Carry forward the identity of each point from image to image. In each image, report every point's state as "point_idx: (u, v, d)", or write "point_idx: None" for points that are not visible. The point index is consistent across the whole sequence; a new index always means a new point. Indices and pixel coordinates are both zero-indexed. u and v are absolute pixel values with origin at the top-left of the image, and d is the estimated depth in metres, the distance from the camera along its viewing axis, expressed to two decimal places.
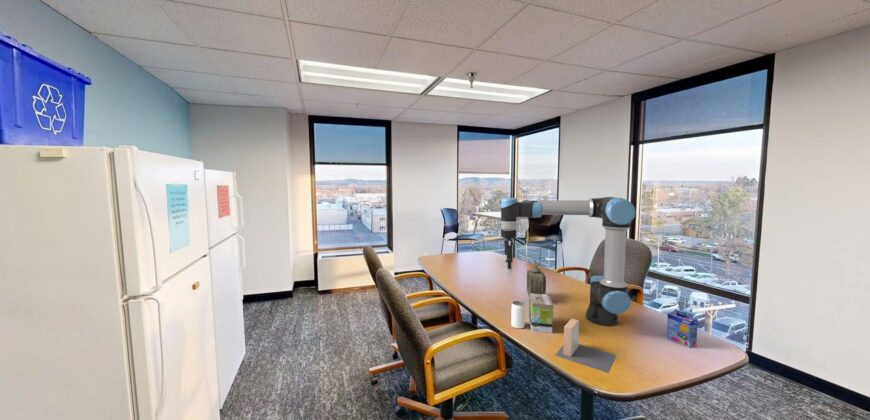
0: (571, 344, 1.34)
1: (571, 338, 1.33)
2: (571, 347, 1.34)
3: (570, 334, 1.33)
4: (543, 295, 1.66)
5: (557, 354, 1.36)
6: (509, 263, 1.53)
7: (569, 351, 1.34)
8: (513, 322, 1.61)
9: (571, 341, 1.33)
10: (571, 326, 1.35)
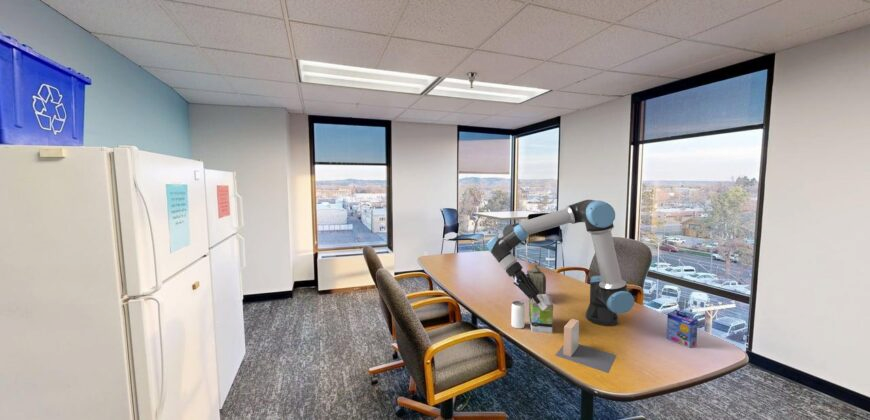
0: (571, 344, 1.34)
1: (571, 338, 1.33)
2: (571, 347, 1.34)
3: (570, 334, 1.33)
4: (543, 295, 1.66)
5: (557, 354, 1.36)
6: (534, 298, 1.45)
7: (569, 351, 1.34)
8: (513, 322, 1.61)
9: (571, 341, 1.33)
10: (571, 326, 1.35)
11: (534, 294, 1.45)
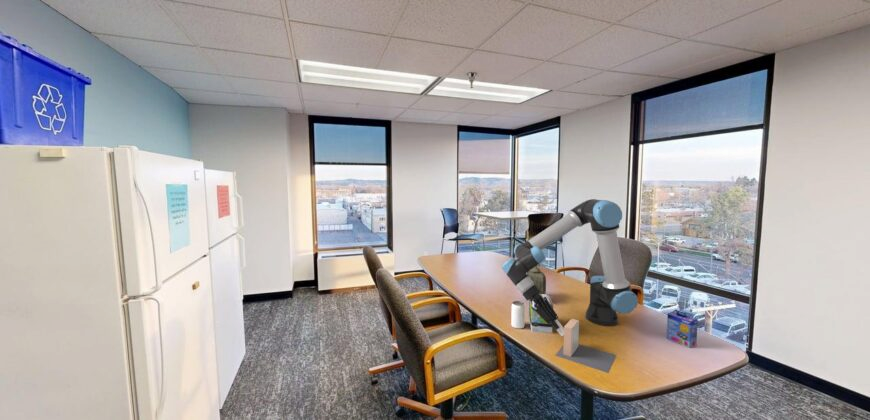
0: (571, 344, 1.34)
1: (571, 338, 1.33)
2: (571, 347, 1.34)
3: (570, 334, 1.33)
4: (543, 295, 1.66)
5: (557, 354, 1.36)
6: (553, 323, 1.40)
7: (569, 351, 1.34)
8: (513, 322, 1.61)
9: (571, 341, 1.33)
10: (571, 326, 1.35)
11: (553, 319, 1.40)
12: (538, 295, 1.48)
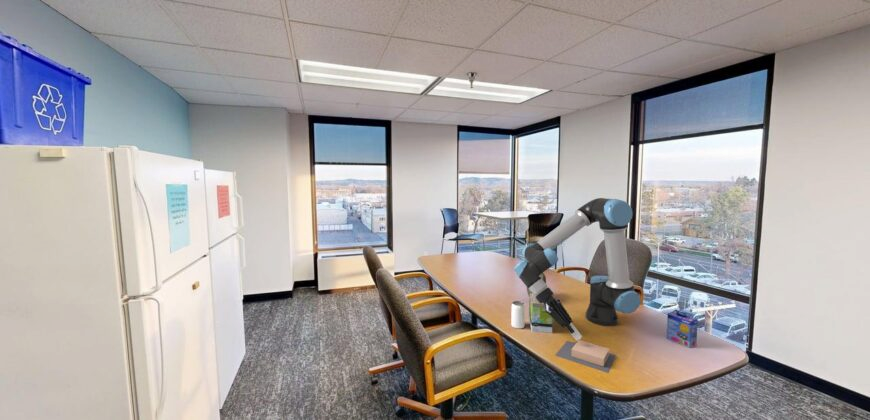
0: (584, 360, 1.31)
1: (591, 362, 1.29)
2: (581, 358, 1.32)
3: (596, 363, 1.28)
4: None
5: (557, 354, 1.36)
6: (567, 327, 1.37)
7: (576, 356, 1.32)
8: (513, 322, 1.61)
9: (588, 361, 1.30)
10: (604, 362, 1.28)
11: (567, 323, 1.37)
12: (552, 298, 1.44)
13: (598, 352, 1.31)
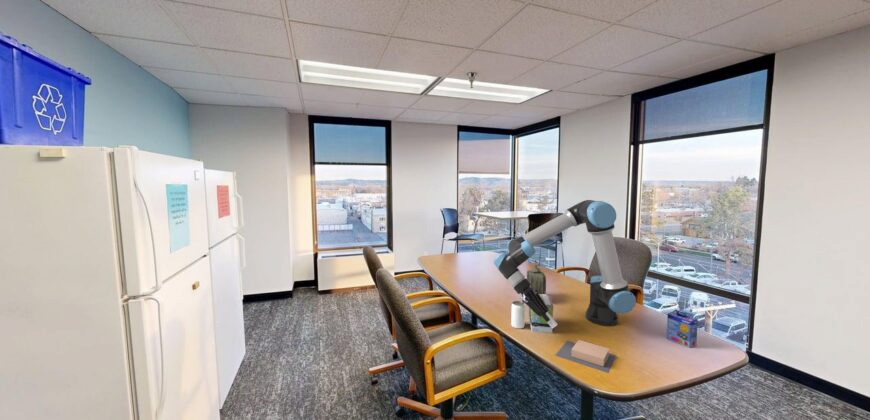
0: (584, 360, 1.31)
1: (591, 362, 1.29)
2: (581, 358, 1.32)
3: (596, 363, 1.28)
4: (543, 295, 1.66)
5: (557, 354, 1.36)
6: (543, 316, 1.43)
7: (576, 356, 1.32)
8: (513, 322, 1.61)
9: (588, 361, 1.30)
10: (604, 362, 1.28)
11: (543, 312, 1.43)
12: (529, 288, 1.50)
13: (598, 352, 1.31)
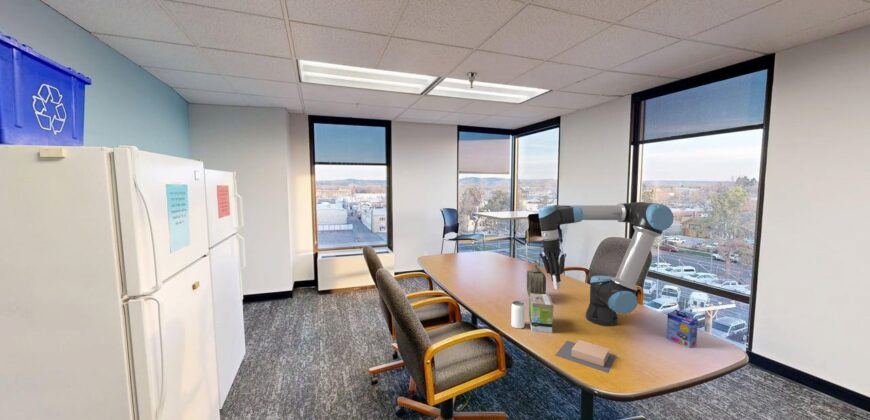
0: (584, 360, 1.31)
1: (591, 362, 1.29)
2: (581, 358, 1.32)
3: (596, 363, 1.28)
4: (543, 295, 1.66)
5: (557, 354, 1.36)
6: (559, 276, 1.51)
7: (576, 356, 1.32)
8: (513, 322, 1.61)
9: (588, 361, 1.30)
10: (604, 362, 1.28)
11: None
12: None
13: (598, 352, 1.31)
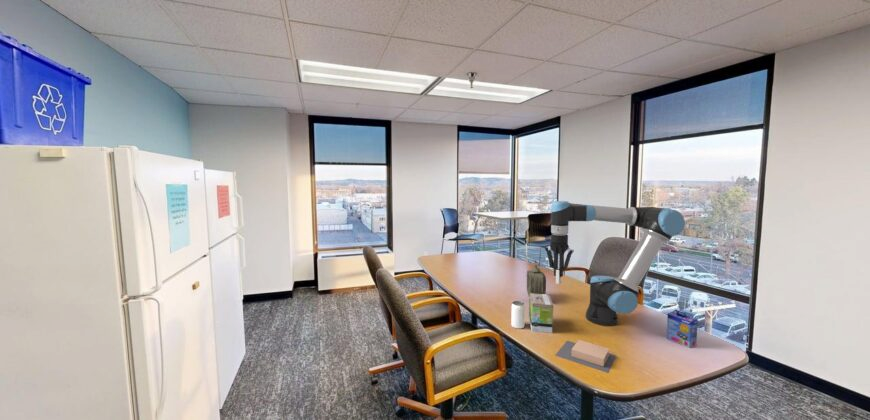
0: (584, 360, 1.31)
1: (591, 362, 1.29)
2: (581, 358, 1.32)
3: (596, 363, 1.28)
4: (543, 295, 1.66)
5: (557, 354, 1.36)
6: (562, 271, 1.53)
7: (576, 356, 1.32)
8: (513, 322, 1.61)
9: (588, 361, 1.30)
10: (604, 362, 1.28)
11: None
12: None
13: (598, 352, 1.31)
